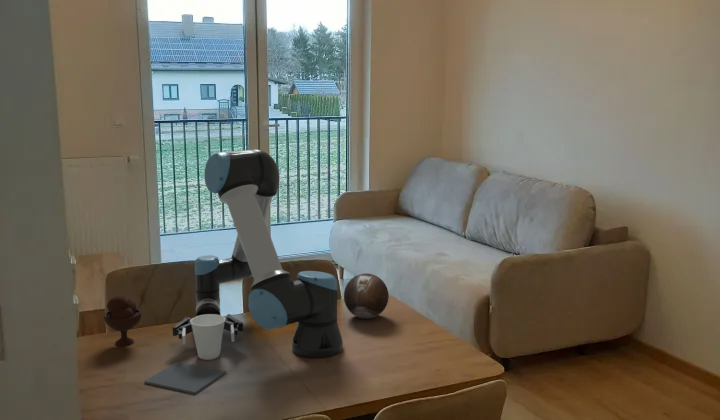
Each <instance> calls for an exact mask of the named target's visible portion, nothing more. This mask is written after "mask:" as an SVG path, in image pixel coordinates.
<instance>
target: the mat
mask: <svg viewBox="0 0 720 420" xmlns="http://www.w3.org/2000/svg"><path fill="white" fill-rule="evenodd" d="M225 374H227V371H226V370H222V369H217V368H212V367H208V366H203V365H196V364H191V363H187V362H183V361H176V362H174V363H173V364H170V366H167V367H165V368H164V369H163V370H161V371H158V372H157V373H156V374H155V375H152V376H151V377H148V378H147V379H146V380H144V384H146V385H150V386H155V387H160V388H164V389H168V390H169V389H170V390H174V391H179V392H182V393H187V394H191V395H197V394H198V393H200V392H201V391H202V390H204V389H205V388H207V387H208V386H210V385H211V384H212V383H214V382H215V381H217V380H219V379H220V378H221V377H223V376H224V375H225Z"/></svg>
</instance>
